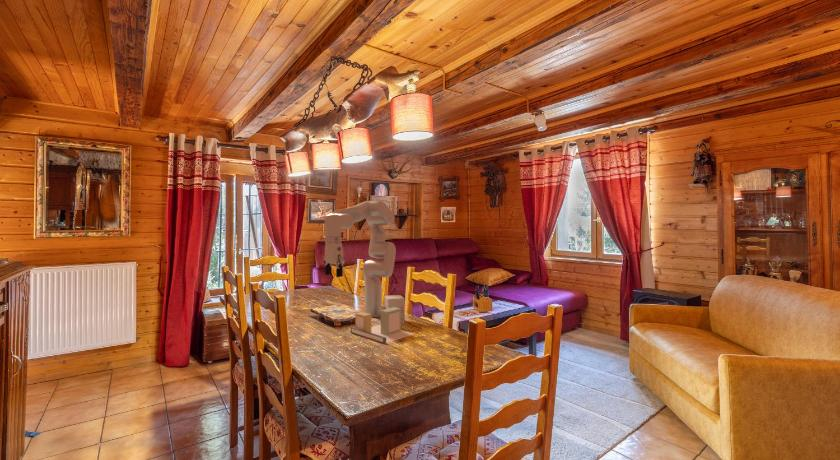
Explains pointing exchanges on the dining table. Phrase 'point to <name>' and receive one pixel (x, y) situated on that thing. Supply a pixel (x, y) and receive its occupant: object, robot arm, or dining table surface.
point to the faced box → (363, 321)
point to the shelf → (378, 336)
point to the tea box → (390, 321)
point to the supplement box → (396, 304)
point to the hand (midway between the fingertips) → (333, 275)
